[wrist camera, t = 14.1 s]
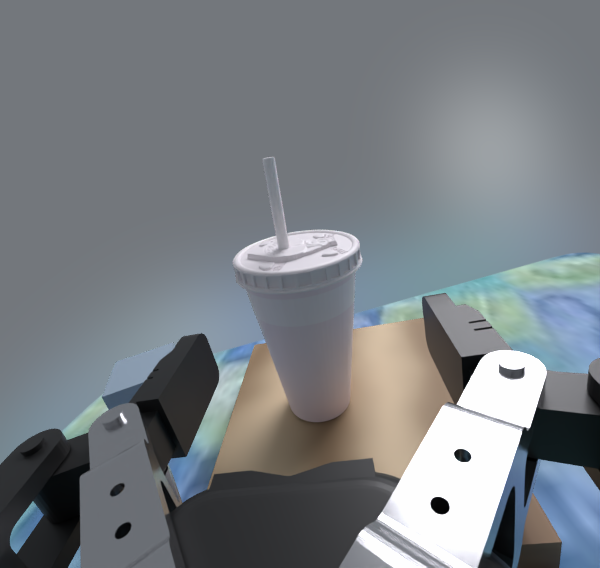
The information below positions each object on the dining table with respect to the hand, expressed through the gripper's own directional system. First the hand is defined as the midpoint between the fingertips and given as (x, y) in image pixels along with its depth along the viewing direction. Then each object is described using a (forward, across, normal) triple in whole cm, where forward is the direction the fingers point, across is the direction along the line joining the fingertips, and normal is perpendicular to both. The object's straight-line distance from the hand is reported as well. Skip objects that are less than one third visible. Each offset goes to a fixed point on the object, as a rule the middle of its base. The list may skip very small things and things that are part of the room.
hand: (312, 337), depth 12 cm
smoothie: (+6, +1, +8) cm, 10 cm away
